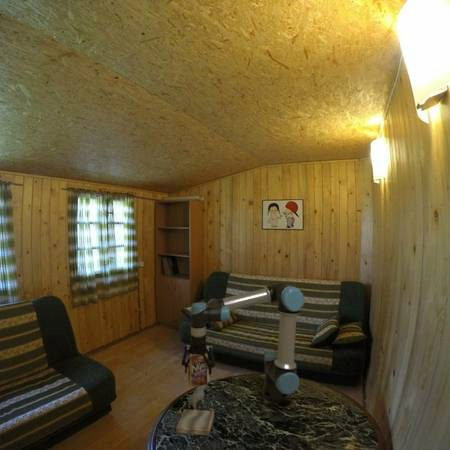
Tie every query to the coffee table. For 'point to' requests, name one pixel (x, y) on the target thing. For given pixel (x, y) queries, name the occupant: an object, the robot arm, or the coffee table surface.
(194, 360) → the candy box
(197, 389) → the dog figurine
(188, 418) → the board
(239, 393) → the coffee table surface
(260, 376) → the coffee table surface
